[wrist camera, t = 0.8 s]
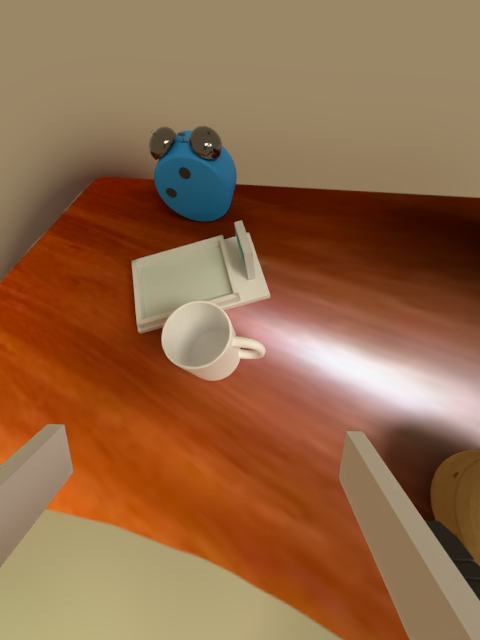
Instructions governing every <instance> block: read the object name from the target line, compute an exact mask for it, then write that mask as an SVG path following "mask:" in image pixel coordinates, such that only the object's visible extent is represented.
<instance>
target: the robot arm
mask: <svg viewBox="0 0 480 640" xmlns="http://www.w3.org/2000/svg"><path fill="white" fill-rule="evenodd" d="M72 473H73V467H72V462H71V456H70V451H69V446H68V441H67V436H66V431H65V426H64V424H47V425H46V426H45V427H44V428H43V429H42V430H40V431H39V432H38V433H37V434H36V435H35V436H34V437H32V438H31V439H30V440H29V441H28V442H27V443H26V444H25V445H23V446H22V447H21V448H20V449H19V450H18V451H17V452H15V453H14V454H13V455H12V456H11V457H10V458H9V459H7V460H6V461H5V462H4V463H3V464H2V465H1V466H0V567H1V566H2V564H3V563H4V562H5V560H6V559H7V558H8V556H9V555H10V554H11V553H12V551H13V550H14V549H15V547H16V546H17V545H18V543H19V542H20V541H21V540H22V538H23V537H24V536H25V534H26V533H27V532H28V531H29V529H30V528H31V527H32V525H33V524H34V523H35V521H36V520H37V519H38V517H39V516H40V515H41V513H42V512H43V511H44V510H45V508H46V507H47V506H48V505H49V503H50V502H51V501H52V499H53V498H54V497H55V495H56V494H57V493H58V491H59V490H60V489H61V488H62V486H63V485H64V484H65V482H66V481H67V480H68V478H69V477H70V476H71V475H72ZM339 480H340V482H341V485H342V487H343V489H344V491H345V494H346V496H347V498H348V501H349V503H350V505H351V507H352V510H353V512H354V514H355V517H356V519H357V521H358V523H359V526H360V528H361V530H362V532H363V535H364V537H365V539H366V542H367V544H368V546H369V548H370V551H371V553H372V555H373V558H374V560H375V562H376V564H377V567H378V569H379V571H380V574H381V576H382V578H383V580H384V583H385V585H386V587H387V590H388V592H389V594H390V596H391V599H392V601H393V603H394V606H395V608H396V610H397V612H398V615H399V617H400V619H401V622H402V624H403V626H404V628H405V631H406V633H407V635H408V638H409V640H480V566H479V565H478V563H475V561H474V558H473V557H472V556H471V554H470V553H469V552H468V550H467V549H466V548H465V547H464V545H463V544H462V543H461V541H460V540H459V539H458V538H457V537H456V536H455V535H454V534H453V533H452V532H451V531H450V530H448V529H447V528H446V527H445V526H444V525H443V524H442V523H441V522H440V521H425V520H424V519H423V518H422V517H421V515H420V514H419V512H418V511H417V509H416V508H415V506H414V505H413V503H412V502H411V501H410V499H409V498H408V496H407V495H406V493H405V492H404V490H403V489H402V488H401V486H400V485H399V483H398V482H397V480H396V479H395V477H394V476H393V474H392V473H391V472H390V470H389V469H388V467H387V466H386V464H385V463H384V461H383V460H382V459H381V457H380V456H379V454H378V453H377V451H376V450H375V448H374V447H373V445H372V444H371V443H370V441H369V440H368V438H367V437H366V435H365V434H364V432H363V431H346V437H345V443H344V449H343V455H342V461H341V467H340V473H339Z"/></svg>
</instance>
